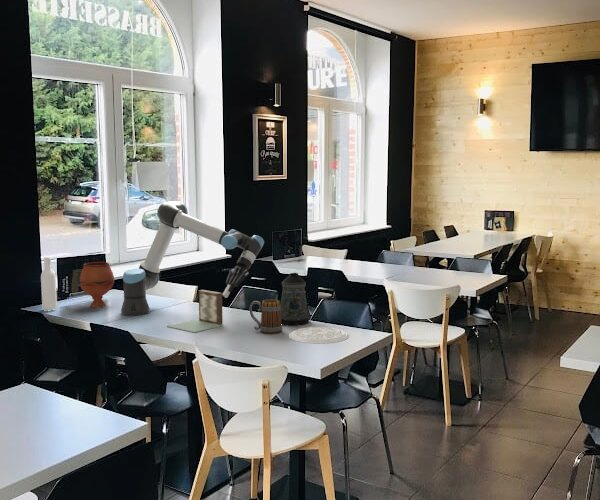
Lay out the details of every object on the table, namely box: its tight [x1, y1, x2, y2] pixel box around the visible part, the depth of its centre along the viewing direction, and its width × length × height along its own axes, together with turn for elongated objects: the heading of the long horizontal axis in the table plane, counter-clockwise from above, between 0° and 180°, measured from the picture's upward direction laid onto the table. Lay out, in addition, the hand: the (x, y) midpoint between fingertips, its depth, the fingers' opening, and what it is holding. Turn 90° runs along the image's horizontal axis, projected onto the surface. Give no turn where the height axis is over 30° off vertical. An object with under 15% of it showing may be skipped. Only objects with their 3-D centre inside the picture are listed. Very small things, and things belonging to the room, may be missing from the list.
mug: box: [248, 298, 283, 335], centre depth 311 cm, size 16×11×15 cm
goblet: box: [79, 261, 115, 308], centre depth 372 cm, size 19×19×25 cm
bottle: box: [40, 256, 58, 312], centre depth 361 cm, size 8×8×30 cm
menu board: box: [198, 289, 224, 326], centre depth 330 cm, size 14×3×16 cm, turn 51°
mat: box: [167, 319, 222, 334], centre depth 322 cm, size 20×18×1 cm
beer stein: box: [280, 272, 311, 327], centre depth 330 cm, size 16×19×25 cm
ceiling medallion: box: [288, 326, 350, 345], centre depth 303 cm, size 28×28×3 cm
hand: (224, 296), depth 336 cm, fingers closed
